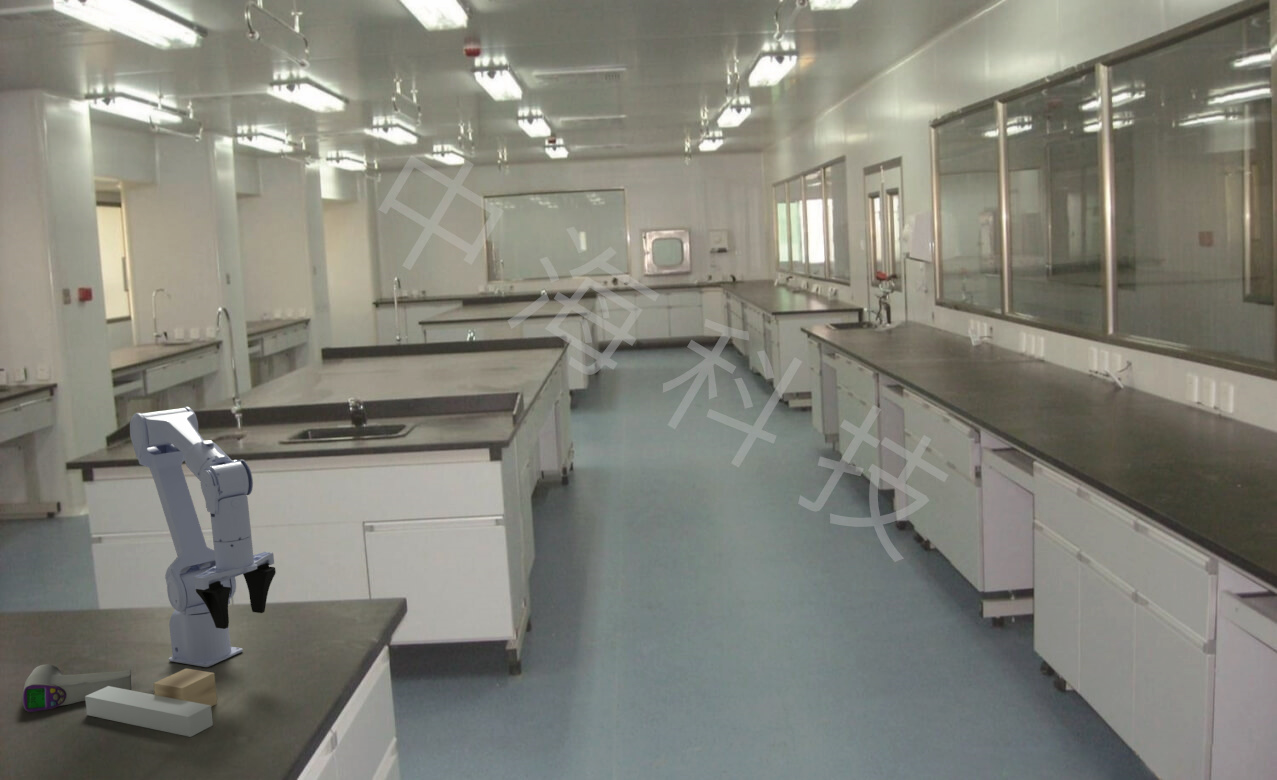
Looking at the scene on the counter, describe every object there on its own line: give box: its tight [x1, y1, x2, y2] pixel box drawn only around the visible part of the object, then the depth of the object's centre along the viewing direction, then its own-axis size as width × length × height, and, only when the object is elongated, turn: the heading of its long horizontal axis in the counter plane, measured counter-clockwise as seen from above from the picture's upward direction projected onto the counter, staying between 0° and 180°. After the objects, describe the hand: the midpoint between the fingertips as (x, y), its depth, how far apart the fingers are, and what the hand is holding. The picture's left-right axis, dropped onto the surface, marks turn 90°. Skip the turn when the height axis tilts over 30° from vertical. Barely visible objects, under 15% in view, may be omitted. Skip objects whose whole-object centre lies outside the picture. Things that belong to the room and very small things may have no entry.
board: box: [85, 686, 214, 738], centre depth 155 cm, size 22×4×3 cm, turn 64°
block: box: [153, 667, 218, 708], centre depth 158 cm, size 6×6×5 cm
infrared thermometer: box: [22, 664, 132, 713], centre depth 168 cm, size 5×12×15 cm
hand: (240, 619), depth 168 cm, fingers open, 7 cm apart
